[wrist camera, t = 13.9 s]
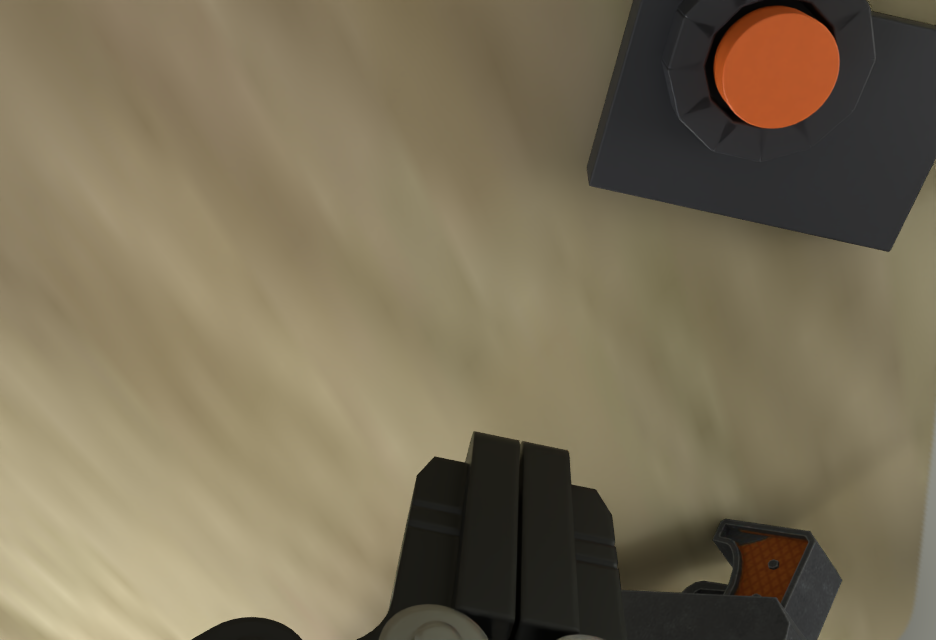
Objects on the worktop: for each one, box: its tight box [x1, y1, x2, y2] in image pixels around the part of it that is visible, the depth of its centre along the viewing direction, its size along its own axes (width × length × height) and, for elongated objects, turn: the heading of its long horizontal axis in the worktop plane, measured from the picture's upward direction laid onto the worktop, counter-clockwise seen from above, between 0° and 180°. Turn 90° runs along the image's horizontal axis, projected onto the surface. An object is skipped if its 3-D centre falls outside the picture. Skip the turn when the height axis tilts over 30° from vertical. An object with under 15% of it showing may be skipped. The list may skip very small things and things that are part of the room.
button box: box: [587, 0, 936, 252], centre depth 30 cm, size 9×12×4 cm
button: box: [713, 5, 840, 129], centre depth 27 cm, size 4×4×2 cm
